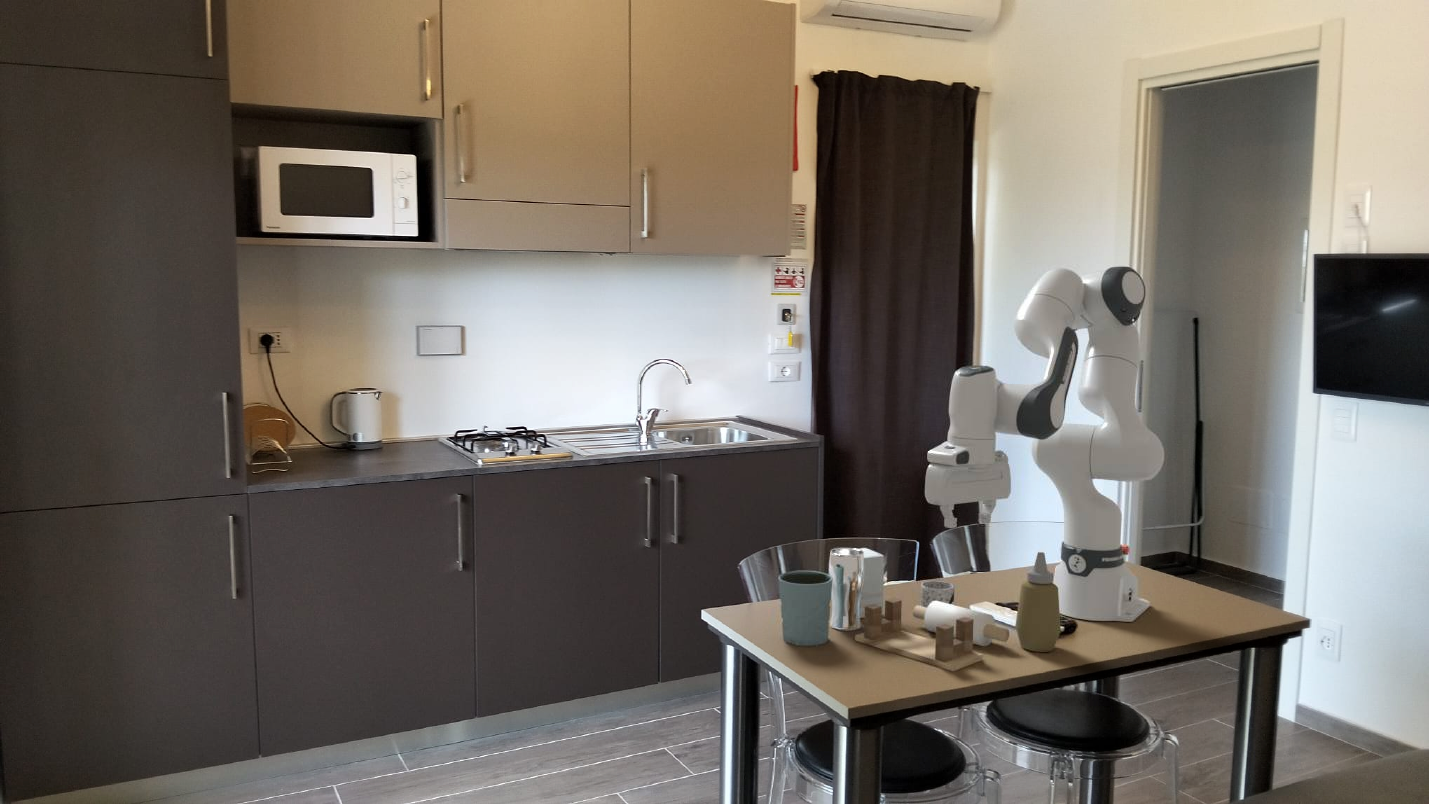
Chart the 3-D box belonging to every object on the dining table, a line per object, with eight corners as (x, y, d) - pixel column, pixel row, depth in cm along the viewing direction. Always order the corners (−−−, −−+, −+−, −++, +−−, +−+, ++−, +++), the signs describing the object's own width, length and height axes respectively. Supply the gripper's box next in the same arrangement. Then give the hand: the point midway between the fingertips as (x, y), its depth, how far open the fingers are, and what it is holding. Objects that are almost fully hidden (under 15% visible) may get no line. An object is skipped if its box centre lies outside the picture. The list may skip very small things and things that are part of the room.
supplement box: (864, 606, 222) (866, 547, 221) (883, 615, 215) (885, 555, 214) (834, 609, 219) (835, 550, 218) (852, 619, 212) (854, 558, 211)
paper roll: (907, 629, 207) (907, 599, 206) (925, 622, 211) (926, 593, 210) (996, 654, 192) (997, 622, 192) (1014, 647, 196) (1015, 616, 196)
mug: (956, 622, 211) (957, 589, 211) (923, 621, 211) (924, 589, 211) (945, 607, 221) (946, 576, 221) (913, 607, 221) (914, 576, 221)
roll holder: (854, 640, 199) (855, 604, 198) (884, 630, 205) (885, 595, 205) (953, 671, 183) (954, 631, 182) (982, 659, 189) (983, 621, 188)
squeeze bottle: (1025, 637, 202) (1028, 545, 200) (1066, 647, 197) (1070, 552, 195) (1007, 648, 196) (1011, 553, 194) (1049, 658, 190) (1054, 560, 189)
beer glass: (842, 633, 203) (844, 557, 202) (820, 623, 209) (822, 549, 208) (870, 627, 207) (872, 553, 205) (847, 618, 213) (849, 545, 211)
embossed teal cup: (842, 641, 199) (843, 579, 197) (800, 651, 193) (802, 586, 192) (807, 627, 207) (808, 567, 206) (766, 636, 201) (767, 574, 200)
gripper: (994, 448, 206) (991, 517, 207) (920, 452, 195) (917, 526, 196) (1020, 451, 201) (1017, 523, 202) (946, 456, 190) (943, 532, 191)
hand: (967, 525), depth 199 cm, fingers open, 8 cm apart
